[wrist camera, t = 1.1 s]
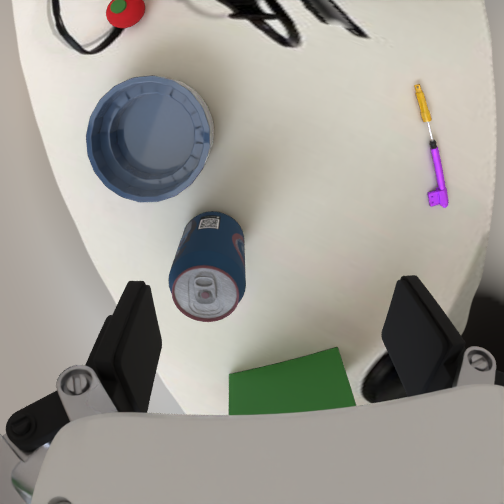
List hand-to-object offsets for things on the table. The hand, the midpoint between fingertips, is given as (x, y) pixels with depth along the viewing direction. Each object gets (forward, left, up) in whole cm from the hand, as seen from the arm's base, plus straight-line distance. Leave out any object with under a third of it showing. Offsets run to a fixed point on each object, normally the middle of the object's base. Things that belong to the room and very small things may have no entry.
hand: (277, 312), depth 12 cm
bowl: (-3, -10, -25) cm, 27 cm away
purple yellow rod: (-3, +21, -25) cm, 33 cm away
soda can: (+9, -4, -25) cm, 27 cm away
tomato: (-17, -13, -25) cm, 33 cm away
